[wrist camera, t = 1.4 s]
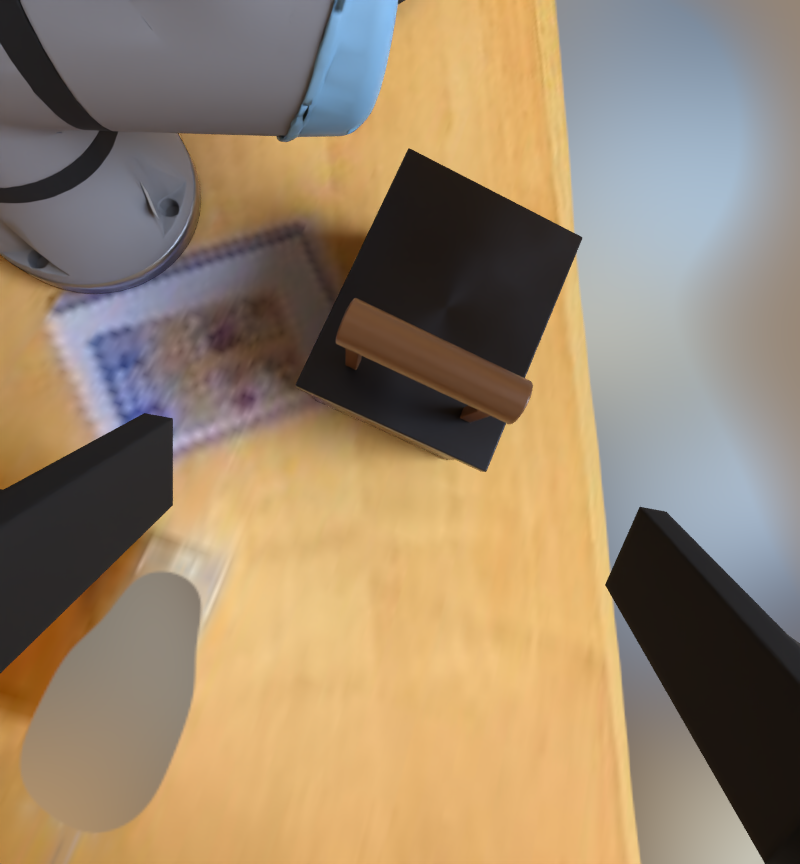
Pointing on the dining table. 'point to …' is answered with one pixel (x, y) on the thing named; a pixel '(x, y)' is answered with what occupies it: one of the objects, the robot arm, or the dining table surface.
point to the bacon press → (442, 313)
